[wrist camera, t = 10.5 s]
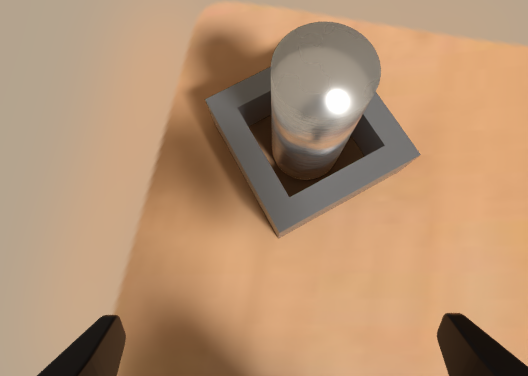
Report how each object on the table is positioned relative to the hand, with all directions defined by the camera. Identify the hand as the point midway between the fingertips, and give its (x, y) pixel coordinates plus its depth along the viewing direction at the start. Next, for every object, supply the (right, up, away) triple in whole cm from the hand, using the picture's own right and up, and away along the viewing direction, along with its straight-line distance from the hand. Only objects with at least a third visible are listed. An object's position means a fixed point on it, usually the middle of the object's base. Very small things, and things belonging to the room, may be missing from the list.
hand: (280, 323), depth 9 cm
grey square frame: (+3, +7, +16) cm, 17 cm away
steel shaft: (+3, +7, +15) cm, 17 cm away
